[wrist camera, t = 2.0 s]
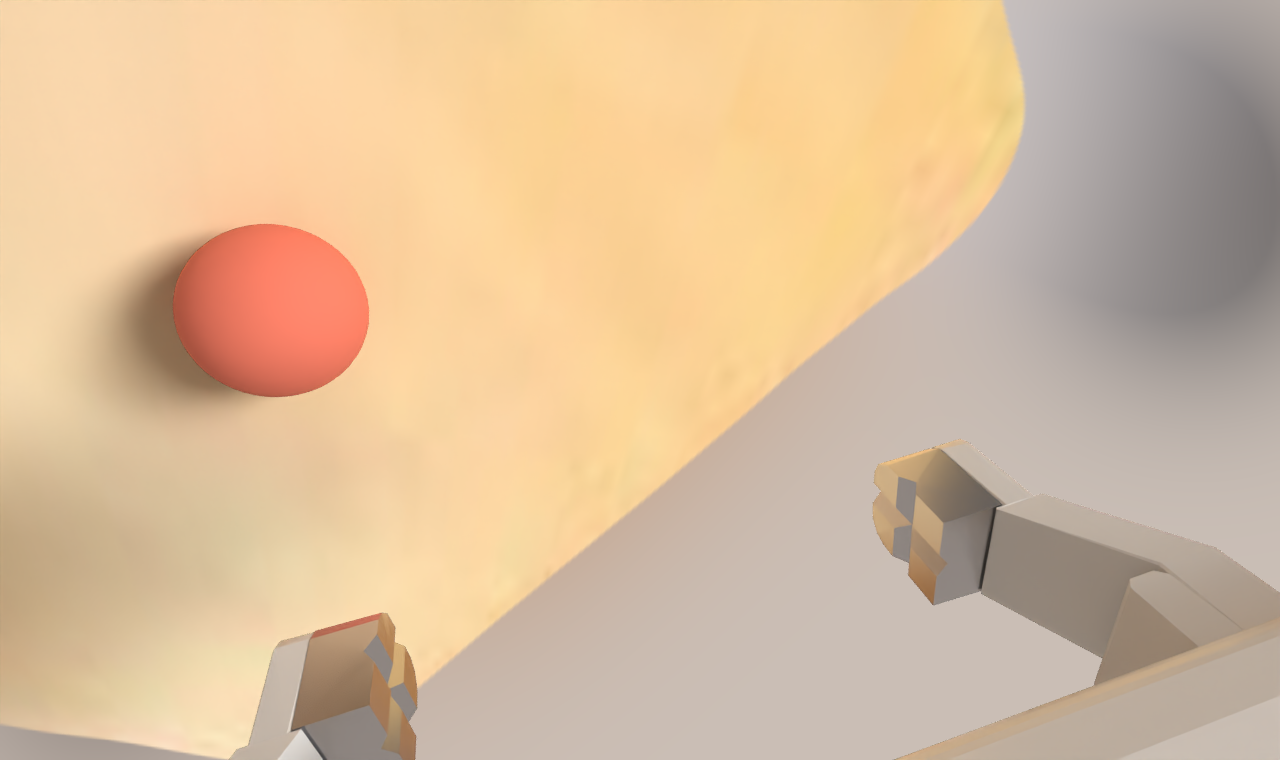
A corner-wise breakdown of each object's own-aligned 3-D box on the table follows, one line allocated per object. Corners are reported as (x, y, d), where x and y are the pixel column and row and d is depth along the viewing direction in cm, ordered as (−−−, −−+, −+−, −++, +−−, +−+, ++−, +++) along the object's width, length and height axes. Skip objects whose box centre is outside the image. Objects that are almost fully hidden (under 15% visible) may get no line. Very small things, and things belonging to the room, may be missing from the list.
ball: (241, 364, 27) (199, 448, 22) (171, 220, 24) (104, 279, 19) (392, 332, 28) (386, 405, 23) (345, 191, 25) (325, 239, 20)
